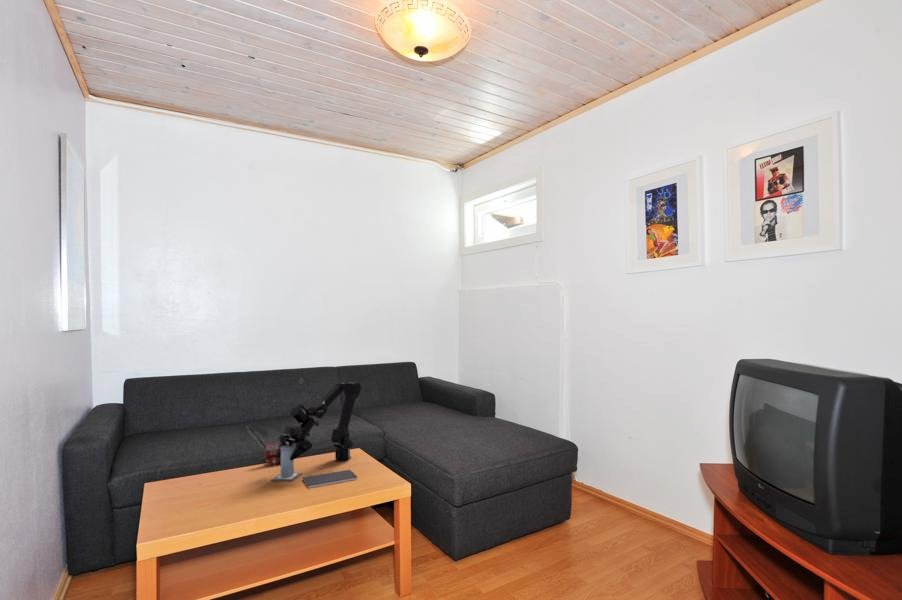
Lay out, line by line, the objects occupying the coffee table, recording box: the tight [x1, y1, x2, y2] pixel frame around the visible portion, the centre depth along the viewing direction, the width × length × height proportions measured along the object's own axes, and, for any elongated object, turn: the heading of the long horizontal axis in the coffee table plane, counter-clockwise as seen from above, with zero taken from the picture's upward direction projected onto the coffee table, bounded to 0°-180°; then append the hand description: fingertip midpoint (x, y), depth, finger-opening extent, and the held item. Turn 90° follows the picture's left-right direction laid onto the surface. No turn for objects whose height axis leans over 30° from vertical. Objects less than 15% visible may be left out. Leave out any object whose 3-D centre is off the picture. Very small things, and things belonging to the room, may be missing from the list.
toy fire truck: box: [264, 442, 281, 467], centre depth 231 cm, size 7×12×10 cm, turn 125°
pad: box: [270, 472, 303, 482], centre depth 208 cm, size 10×10×1 cm
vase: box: [280, 444, 295, 478], centre depth 209 cm, size 6×6×13 cm
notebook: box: [302, 469, 358, 489], centre depth 204 cm, size 13×2×21 cm
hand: (284, 458), depth 208 cm, fingers open, 9 cm apart
